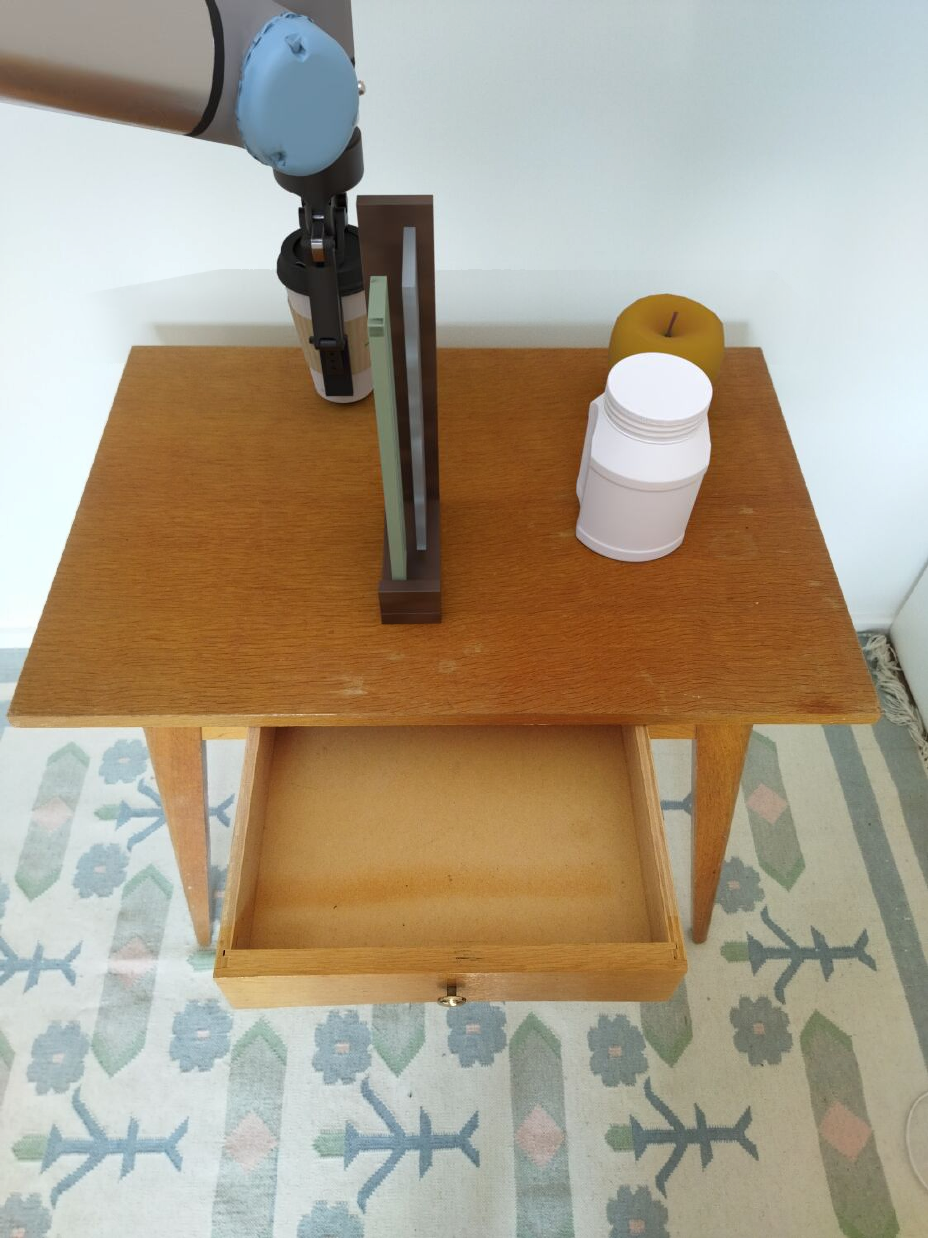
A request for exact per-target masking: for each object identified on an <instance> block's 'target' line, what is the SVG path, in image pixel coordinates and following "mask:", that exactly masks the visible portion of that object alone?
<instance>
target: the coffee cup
mask: <svg viewBox="0 0 928 1238" xmlns="http://www.w3.org/2000/svg"><path fill="white" fill-rule="evenodd" d="M302 236H303V231H302V230H301V228H300V227H299V228H297V229H296V230H294V231H292V232H290V233H289V234H288V235H287V236H286V237H285V238H284V239H283V241H282V242H281V246H280V251H279V254H278V256H277V259H276V275H277V278H278V280H279V281H280V283H281V284H282V285H283V286H284V288H285V291H286V293H287V303H288V308H289V310H290V314H291V316H292V320H293V322H294V323H293V324H294V326H295V330H296V333H297V335H298V339H299V342H300V346H301V350H302V353H303V356H304V359H305V362H306V364H307V365H308V367H309V371H310V373H311V378H312V380H313V384H314V387H315V391H316V392H317V394H318V395H319V396H321V397H322V398H323V399H325V400H327V401H330V402H333V403H341V404H344V403H345V404H346V403H353V402H356V401H360V400H362V399H364V398H366V397H367V396H368V395H369V394H370V393H371V392H373V390H374V389H373V378H372V368H371V358H370V348H369V338H368V329H367V312H366V302H365V292H364V282H363V272H362V261H361V251H360V241H359V231H358V225H354V224H350V223H348V232H347V233H345V234H344V239H345V255H346V256H345V260H344V261H343V262H342V263H341V265H340V267H339V270H337V279H338V290H339V298H340V297H341V298H342V306H343V315H344V331H345V334H346V335H347V336H348V345H349V354H350V363H351V372H352V380H353V389H354V394H353V396H326V394H325V387H324V380H323V374H322V367H321V360H320V353H319V350H315V346H314V344H310V343H309V337H310V336H314V335H313V326H312V317H311V309H310V300H309V291H308V283H307V274H306V266H305V260H304V254H303V249H302V247H301V241H302ZM337 252H338V249H335V253H337Z"/></svg>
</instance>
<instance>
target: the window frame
mask: <svg viewBox="0 0 928 1238" xmlns="http://www.w3.org/2000/svg"><path fill="white" fill-rule="evenodd" d="M434 208H435V207H434V194H356V199H355V209H356V221H357V227H358V231H359V241H360V251H361V261H362V272H363V282H364V292H365V302H366V312H367V322H368V307H369V292H370V277H371V276H387V285H388V300H389V313H390V327H391V341H392V354H393V368H394V382H395V395H396V409H397V423H398V436H399V450H400V464H401V477H402V491H403V505H404V518H405V532H406V546H407V562H406V580H393V579H392V569H391V559H390V549H389V539H388V529H387V519H386V509H385V508H384V519H383V520H384V521H383V545H382V548H383V549H382V550H383V551H382V569H381V571H382V572H381V580H378V586H377V595H378V596H377V597H378V603H379V610H380V612H379V613H380V619H381V624H382V625H412V624H413V625H414V624H416V625H418V624H419V625H421V624H423V625H424V624H425V625H426V624H442V575H441V574H442V572H441V570H442V568H441V499H440V497H441V496H440V454H439V453H440V452H439V447H440V446H439V445H440V444H439V407H438V406H439V405H438V404H439V403H438V399H439V398H438V358H437V352H438V351H437V307H436V305H437V304H436V261H435V217H434V216H435V215H434V213H435V212H434V211H435V210H434Z"/></svg>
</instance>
